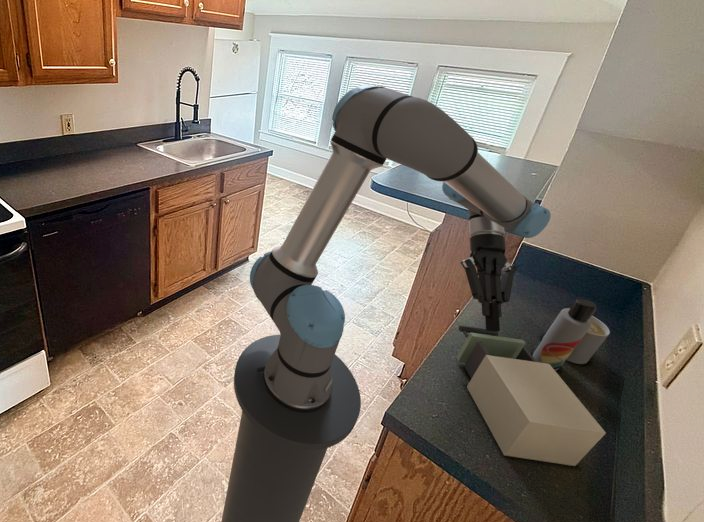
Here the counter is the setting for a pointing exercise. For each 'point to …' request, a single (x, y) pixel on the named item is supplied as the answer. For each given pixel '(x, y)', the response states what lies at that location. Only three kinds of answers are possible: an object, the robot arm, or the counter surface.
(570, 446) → the cream rectangular box
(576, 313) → the lotion bottle
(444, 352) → the counter surface
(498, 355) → the drawer
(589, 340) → the coffee mug
